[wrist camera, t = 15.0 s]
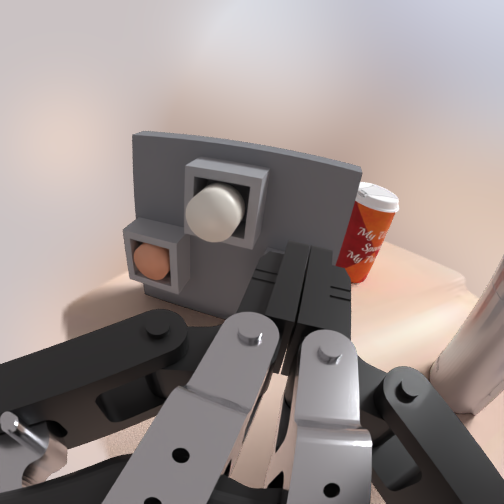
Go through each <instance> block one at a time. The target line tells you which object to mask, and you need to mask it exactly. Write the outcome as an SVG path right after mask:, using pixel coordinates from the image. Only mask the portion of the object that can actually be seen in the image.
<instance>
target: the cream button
mask: <svg viewBox="0 0 504 504" xmlns="http://www.w3.org/2000/svg"><path fill="white" fill-rule="evenodd" d="M244 214H245V203H244V200H243V197H242V196H241V194H240V193H239V192H238V190H236V189H235V188H234V187H233V186H231V185H229V184H226V183H221V182H217V183H212V184H210V185H208V186H206V187H205V188H204V189H203V190H201V191H200V192H199V193H198V194H197V195H196V196H194V197H193V198H192V199H191V200H190V201H189V203H188V205H187V207H186V220H187V223H188V225H189V227H190V229H191V230H192V231H193V232H194V234H196V235H197V236H198V237H199V238H201V239H203V240H205V241H208V242H221V241H224V240H226V239H228V238H229V237H230V236H231V235H232V233H233V232H234V230H235V229H236V227H237V226H238V225H239V223H240V222H241V220H242V219H243V217H244Z"/></svg>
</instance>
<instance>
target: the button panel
mask: <svg viewBox="0 0 504 504" xmlns="http://www.w3.org/2000/svg"><path fill="white" fill-rule="evenodd" d="M132 144H133V147H132V148H133V179H134V180H133V181H134V198H135V212H136V220H134V221H133V222H132V223H131V224H129V225H128V226H127V227H126V228H124V229H123V236H124V244H125V251H126V257H127V265H128V271H129V277H130V279H132V280H135V281H138V282H141V283H143V284H144V291H145V294H146V295H149V296H152V297H155V298H158V299H161V300H164V301H167V302H170V303H173V304H176V305H180V306H183V307H186V308H189V309H192V310H195V311H199V312H202V313H205V314H209V315H212V316H215V317H219V318H222V319H227V318H229V317H230V316H232V315H234V314H236V312H237V310H238V308H239V305H240V303H241V301H242V298H243V296H244V294H245V291H246V289H247V287H248V285H249V282H250V280H251V278H252V275H253V273H254V271H255V268H256V266H257V264H258V261H259V259H260V258H261V257H262V256H264V255H265V254H266V253H268V252H269V251H272V252H276V253H281V254H284V253H285V250H286V246H287V243H288V240H291V241H295V242H300V243H304V244H309V245H310V246H309V251H308V256H309V252H310V248H311V245H313V246H318V247H322V248H326V249H331V250H333V255H332V265H333V266H335V265H336V262H337V259H338V256H339V253H340V250H341V247H342V243H343V240H344V237H345V234H346V230H347V227H348V224H349V220H350V217H351V213H352V210H353V206H354V203H355V199H356V196H357V192H358V188H359V184H360V180H361V177H362V170H361V167H359V166H356V165H352V164H349V163H345V162H341V161H337V160H332V159H328V158H324V157H320V156H315V155H311V154H306V153H301V152H296V151H292V150H287V149H281V148H276V147H271V146H265V145H260V144H253V143H247V142H240V141H234V140H227V139H220V138H212V137H204V136H196V135H186V134H175V133H165V132H151V131H142V132H139V133H136V134H133V135H132ZM217 182H221V183H226V184H229V185H231V186H233V187H234V188H235V189H236V190H238V192H239V193H240V194H241V196H242V197H243V200H244V203H245V214H244V217H243V219H242V220H241V222H240V223H239V225H238V226H237V227H236V229H235V230H234V232H233V233H232V235H231V236H230V237H229V238H228V239H226V240H224V241H221V242H208V241H205V240H203V239H201V238H199V237H198V236H197V235H196V234H194V232H193V231H192V230H191V229H190V227H189V225H188V223H187V220H186V207H187V205H188V203H189V201H190V200H191V199H192V198H193V197H194V196H196V195H197V194H198V193H199V192H200V191H201V190H203V189H204V188H205V187H206V186H208V185H210V184H212V183H217ZM143 242H144V243H148V244H152V245H156V246H159V247H163V248H167V249H169V256H170V271H169V272H168V273H167V274H166V276H165V277H164V278H163V279H160V280H153V279H150V278H148V277H146V276H145V275H143V274H142V273H141V272H140V271H139V270H138V268H137V266H136V264H135V262H134V252H135V250H136V249H137V248H138V247H139V246H140V245H141V244H142V243H143ZM307 260H308V257H307ZM306 264H307V262H306Z"/></svg>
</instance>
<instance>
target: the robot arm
mask: <svg viewBox="0 0 504 504" xmlns="http://www.w3.org/2000/svg"><path fill="white" fill-rule="evenodd" d="M309 246H310V245H309V244H304V243H300V242H295V241H291V240H288V243H287V246H286V250H285V253H284V254H281V253H276V252H272V251H269V252H268V253H266V254H265V255H264V256H262V257H261V258H260V259H259V261H258V264H257V266H256V268H255V271H254V273H253V275H252V278H251V280H250V282H249V285H248V287H247V289H246V291H245V294H244V296H243V298H242V301H241V303H240V305H239V308H238V310H237V312H236V314H234V315H232V316H230V317H229V318H227V319H226V320H225V322H224V323H223V324H221V325H218V326H213V327H187V325H186V323H185V321H184V319H183V318H182V317H181V316H180V315H178V314H177V313H175V312H173V311H170V310H165V309H155V310H150V311H147V312H144V313H142V314H139V315H136V316H134V317H131V318H128V319H126V320H123V321H120V322H118V323H115V324H112V325H109V326H107V327H104V328H101V329H99V330H96V331H93V332H90V333H88V334H85V335H82V336H79V337H77V338H74V339H71V340H68V341H65V342H63V343H60V344H57V345H54V346H51V347H49V348H46V349H43V350H40V351H37V352H34V353H31V354H29V355H26V356H23V357H20V358H17V359H14V360H11V361H8V362H5V363H3V364H0V504H370V495H371V482H372V483H373V485H374V486H375V488H376V489H377V491H378V492H379V493H380V495H381V496H382V498H383V499H384V501H385V502H386V504H504V479H503V478H502V477H501V475H500V474H499V472H498V471H497V469H496V468H495V467H494V465H493V464H492V462H491V461H490V460H489V458H488V457H487V455H486V454H485V453H484V451H483V450H482V449H481V447H480V446H479V445H478V443H477V442H476V441H475V439H474V438H473V437H472V435H471V434H470V433H469V431H468V430H467V429H466V427H465V426H464V425H463V424H462V422H461V421H460V420H459V418H458V417H457V416H456V415H455V413H454V412H456V413H462V414H463V413H472V414H473V415H477V414H478V413H479V412H480V411H481V410H483V409H484V408H485V407H486V406H487V405H488V404H489V403H490V402H492V401H493V400H494V399H495V398H496V397H497V396H498V395H499V394H500V393H501V392H502V391H503V390H504V256H503V258H502V260H501V262H500V264H499V266H498V268H497V269H496V271H495V273H494V275H493V277H492V279H491V280H490V282H489V284H488V285H487V287H486V289H485V291H484V292H483V294H482V296H481V297H480V299H479V300H478V302H477V304H476V305H475V307H474V308H473V310H472V311H471V313H470V314H469V316H468V317H467V319H466V320H465V322H464V323H463V325H462V326H461V328H460V329H459V330H458V332H457V333H456V335H455V336H454V337H453V339H452V340H451V341H450V343H449V344H448V345H447V347H446V348H445V349H444V351H442V353H441V354H440V355H439V357H438V358H437V359H436V361H435V362H434V363H433V365H432V367H431V370H430V382H429V381H428V380H427V379H426V377H425V376H424V375H423V374H422V373H420V372H419V371H417V370H416V369H414V368H411V367H406V366H401V367H396V368H394V369H392V370H391V371H389V372H388V373H386V372H384V371H382V370H379V369H377V368H375V367H373V366H371V365H369V364H368V363H366V362H365V361H363V360H362V359H361V358H360V357H359V356H358V355H357V351H356V348H355V346H354V344H353V343H352V342H351V279H350V277H349V275H348V273H347V271H346V270H345V268H342V267H338V266H333V265H332V255H333V250H331V249H326V248H322V247H318V246H313V245H311V248H310V252H309V256H308V251H309ZM307 257H308V260H307ZM306 262H307V264H306ZM287 345H288V346H287ZM286 349H287V351H286ZM285 352H286V355H285ZM284 355H285V359H284V363H283V367H282V371H281V374H282V375H286V376H288V379H287V383H286V387H285V390H284V393H283V395H282V399H281V404H280V411H279V417H278V423H277V429H276V435H275V441H274V446H273V452H272V456H271V460H270V463H269V466H268V469H267V473H266V477H265V482H264V487H263V488H260V489H256V488H249V487H247V486H244V485H243V484H241V483H239V482H237V481H235V480H233V479H231V478H230V476H231V474H232V471H233V469H234V467H235V464H236V462H237V459H238V457H239V454H240V452H241V449H242V446H243V444H244V442H245V439H246V437H247V435H248V432H249V430H250V427H251V425H252V423H253V420H254V418H255V415H256V413H257V410H258V408H259V405H260V403H261V400H262V398H263V395H264V393H265V392H266V390H267V389H268V386H269V383H270V380H271V376H272V373H277V374H279V371H280V368H281V365H282V362H283V358H284ZM156 415H157V416H156ZM154 416H156V417H155V419H154V421H153V422H152V424H151V426H150V427H149V429H148V430H147V432H146V434H145V435H144V437H143V438H142V440H141V442H140V443H139V445H138V446H137V448H136V450H135V451H134V453H133V454H126V455H121V456H117V457H113V458H110V459H107V460H105V461H102V462H100V463H97V464H95V465H92V466H89V467H87V468H84V469H81V470H78V471H76V472H73V473H70V474H67V475H64V476H61V477H58V478H55V479H51V480H48V481H46V479H47V478H48V477H49V476H50V475H51V474H52V473H54V472H56V471H58V470H60V469H61V468H62V467H64V466H65V465H66V463H67V449H70V448H74V447H77V446H80V445H82V444H85V443H88V442H91V441H94V440H97V439H99V438H102V437H105V436H108V435H110V434H113V433H115V432H118V431H120V430H123V429H125V428H128V427H130V426H133V425H135V424H138V423H140V422H142V421H145V420H147V419H149V418H152V417H154Z"/></svg>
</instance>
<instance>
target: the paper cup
mask: <svg viewBox="0 0 504 504" xmlns="http://www.w3.org/2000/svg"><path fill="white" fill-rule="evenodd" d="M398 202H399V200H398V198H397V196H396V195H395V194H394V193H392V192H390V191H389V190H387V189H385V188H383V187H380V186H378V185H375V184H371V183H366V182H360V184H359V188H358V192H357V196H356V199H355V203H354V206H353V210H352V213H351V217H350V220H349V224H348V227H347V230H346V234H345V237H344V240H343V243H342V247H341V250H340V253H339V256H338V259H337V262H336V265H335V266H338V267H342V268H345V270H346V271H347V273H348V275H349V277H350V279H351V283H360V282H362V281H364V280H365V278H366V277H367V275H368V273H369V271H370V269H371V267H372V265H373V263H374V260H375V258H376V256H377V254H378V252H379V250H380V247H381V245H382V243H383V241H384V238H385V236H386V234H387V231H388V229H389V227H390V224H391V222H392V220H393V217H394V215H395V212H397V211H398V210H399V206H398Z"/></svg>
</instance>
